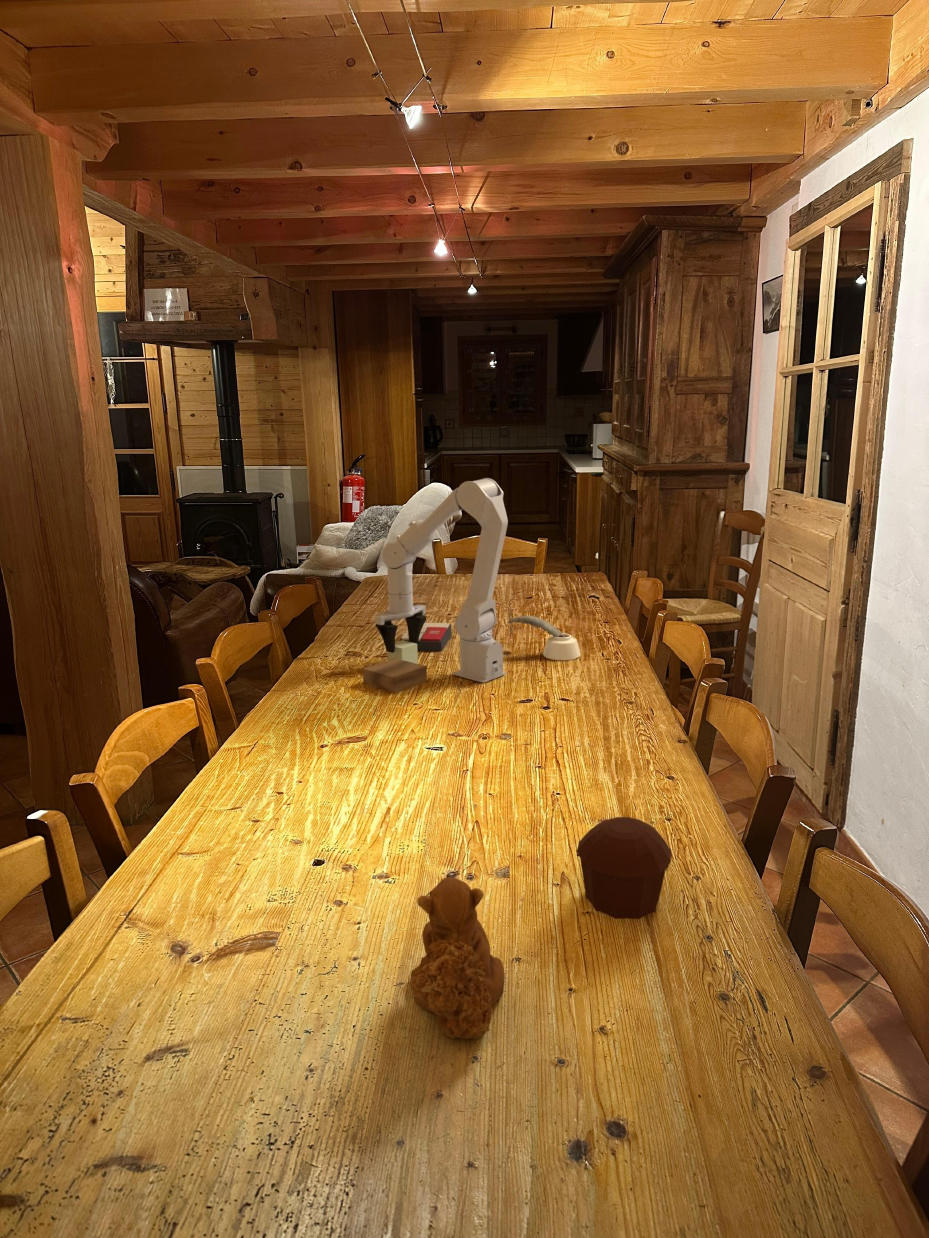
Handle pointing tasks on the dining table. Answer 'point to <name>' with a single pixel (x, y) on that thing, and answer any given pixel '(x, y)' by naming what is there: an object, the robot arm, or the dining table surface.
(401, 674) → the walnut riser
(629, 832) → the muffin
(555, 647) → the inkwell
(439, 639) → the red cream box
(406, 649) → the sage cube
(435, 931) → the stuffed squirrel
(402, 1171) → the dining table surface
